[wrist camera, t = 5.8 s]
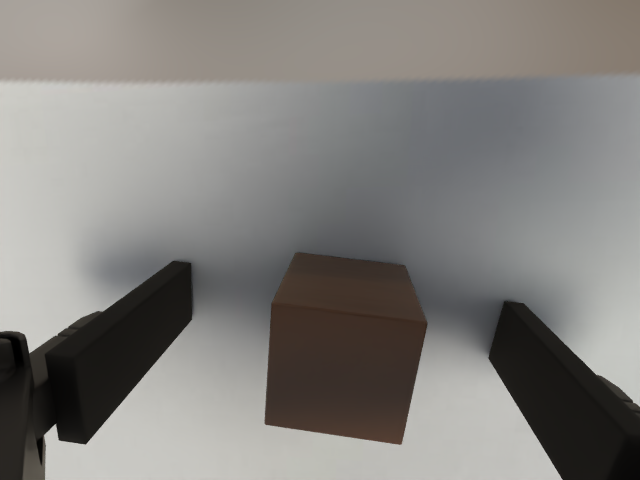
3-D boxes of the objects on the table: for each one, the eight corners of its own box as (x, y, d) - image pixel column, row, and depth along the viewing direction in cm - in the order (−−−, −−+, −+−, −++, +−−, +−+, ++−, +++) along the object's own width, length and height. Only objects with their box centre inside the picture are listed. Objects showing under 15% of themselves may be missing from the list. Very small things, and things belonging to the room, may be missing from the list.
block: (295, 251, 14) (271, 302, 10) (405, 264, 14) (428, 322, 10) (288, 345, 16) (263, 425, 11) (388, 359, 15) (401, 446, 11)
